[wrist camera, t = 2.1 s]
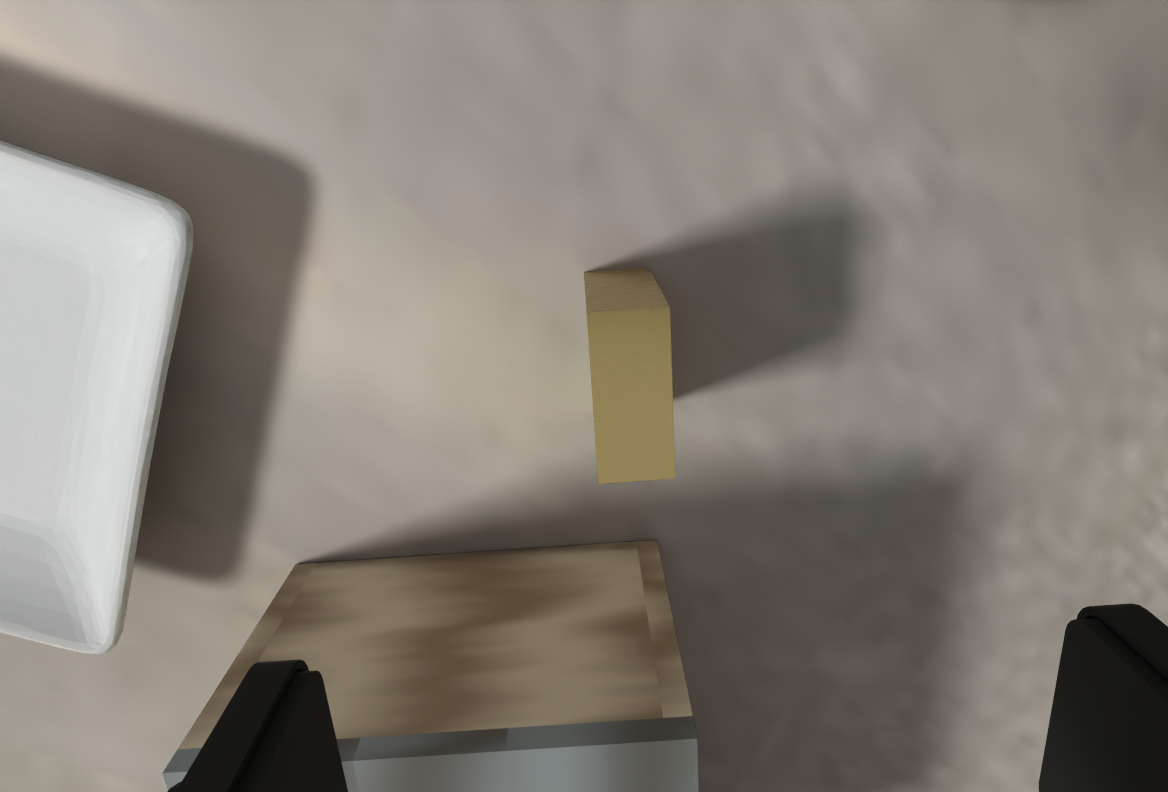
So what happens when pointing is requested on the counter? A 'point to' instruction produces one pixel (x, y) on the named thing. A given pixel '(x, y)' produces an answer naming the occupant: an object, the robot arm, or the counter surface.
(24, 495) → the tray
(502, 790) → the box
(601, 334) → the block
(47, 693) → the counter surface
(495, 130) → the counter surface
